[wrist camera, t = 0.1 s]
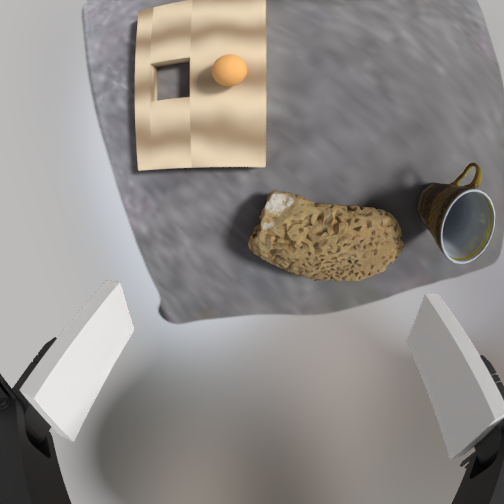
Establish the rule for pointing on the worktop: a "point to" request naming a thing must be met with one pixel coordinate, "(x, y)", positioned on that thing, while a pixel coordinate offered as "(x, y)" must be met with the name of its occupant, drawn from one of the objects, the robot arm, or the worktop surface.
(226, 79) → the ball
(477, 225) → the ceramic cup
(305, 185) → the worktop surface
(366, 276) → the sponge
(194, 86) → the board
